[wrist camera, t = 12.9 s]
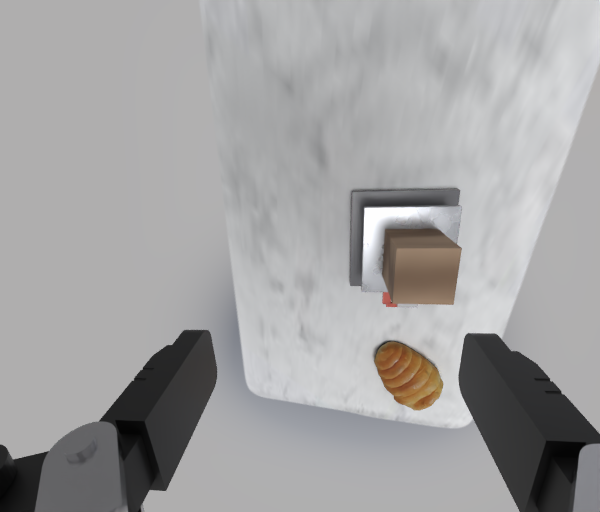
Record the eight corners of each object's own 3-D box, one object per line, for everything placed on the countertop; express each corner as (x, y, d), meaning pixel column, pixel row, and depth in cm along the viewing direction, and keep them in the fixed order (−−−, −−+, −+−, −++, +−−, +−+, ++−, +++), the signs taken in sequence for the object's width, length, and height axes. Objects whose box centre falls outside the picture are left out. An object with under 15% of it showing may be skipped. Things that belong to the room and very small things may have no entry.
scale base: (351, 190, 34) (355, 200, 29) (456, 188, 33) (481, 198, 28) (349, 283, 38) (352, 307, 33) (443, 283, 37) (463, 309, 31)
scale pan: (362, 204, 32) (364, 208, 30) (454, 202, 31) (462, 206, 29) (359, 298, 36) (361, 307, 34) (441, 300, 35) (447, 308, 33)
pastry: (360, 355, 42) (363, 375, 38) (401, 328, 40) (408, 346, 36) (403, 399, 44) (410, 422, 40) (445, 374, 42) (456, 396, 38)
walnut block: (385, 229, 31) (396, 248, 25) (437, 228, 30) (461, 248, 25) (382, 275, 33) (392, 303, 27) (432, 276, 32) (453, 304, 26)
